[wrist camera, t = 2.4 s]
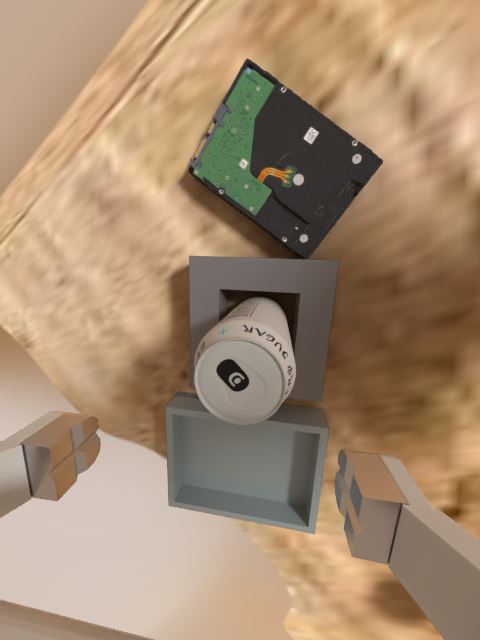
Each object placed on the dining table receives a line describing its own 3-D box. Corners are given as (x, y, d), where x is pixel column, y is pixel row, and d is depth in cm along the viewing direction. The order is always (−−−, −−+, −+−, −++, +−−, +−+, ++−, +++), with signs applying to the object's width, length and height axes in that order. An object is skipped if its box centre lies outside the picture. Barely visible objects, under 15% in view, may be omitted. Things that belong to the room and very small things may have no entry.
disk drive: (373, 171, 22) (248, 79, 22) (387, 157, 20) (245, 52, 19) (304, 262, 25) (192, 180, 25) (308, 261, 22) (182, 169, 22)
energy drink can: (256, 356, 27) (233, 453, 13) (223, 317, 27) (160, 372, 12) (297, 325, 26) (324, 395, 11) (263, 283, 25) (244, 301, 11)
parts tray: (322, 409, 27) (329, 428, 24) (310, 504, 30) (314, 534, 27) (177, 391, 30) (165, 407, 27) (179, 481, 33) (168, 505, 30)
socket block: (329, 262, 24) (339, 260, 20) (315, 383, 27) (321, 401, 23) (202, 258, 26) (189, 255, 22) (201, 371, 29) (190, 386, 25)
